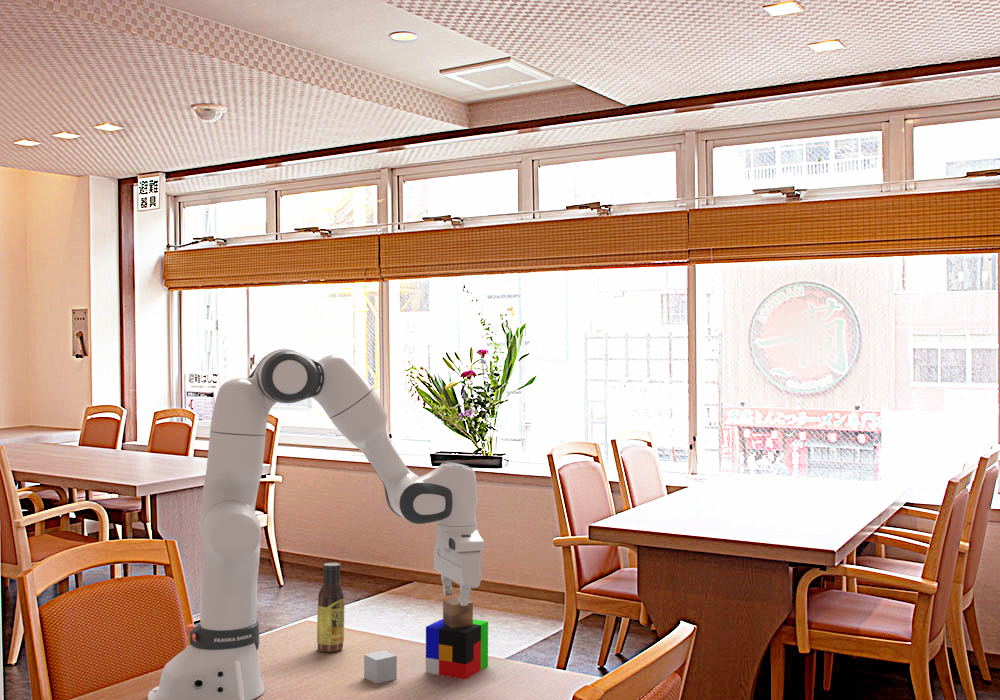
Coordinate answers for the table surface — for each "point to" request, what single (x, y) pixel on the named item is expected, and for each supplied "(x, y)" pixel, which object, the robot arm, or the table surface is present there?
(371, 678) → the grey block
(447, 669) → the puzzle toy
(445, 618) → the walnut block
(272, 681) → the table surface
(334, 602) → the sauce bottle
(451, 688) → the table surface
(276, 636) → the table surface
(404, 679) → the table surface
